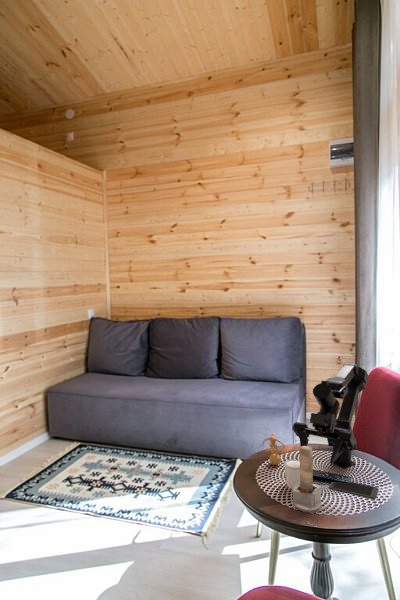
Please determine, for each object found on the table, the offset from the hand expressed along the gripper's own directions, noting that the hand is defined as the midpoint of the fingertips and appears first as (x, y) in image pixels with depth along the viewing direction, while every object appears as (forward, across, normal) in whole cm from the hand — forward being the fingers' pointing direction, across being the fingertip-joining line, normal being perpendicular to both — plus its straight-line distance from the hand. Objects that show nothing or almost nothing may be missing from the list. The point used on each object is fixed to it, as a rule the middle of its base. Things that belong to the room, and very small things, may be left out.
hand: (316, 459), depth 126 cm
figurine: (+1, -20, +15) cm, 24 cm away
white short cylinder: (+7, -8, +8) cm, 13 cm away
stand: (+13, 0, +2) cm, 13 cm away
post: (+10, 0, -2) cm, 10 cm away
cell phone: (+2, +8, +14) cm, 17 cm away
